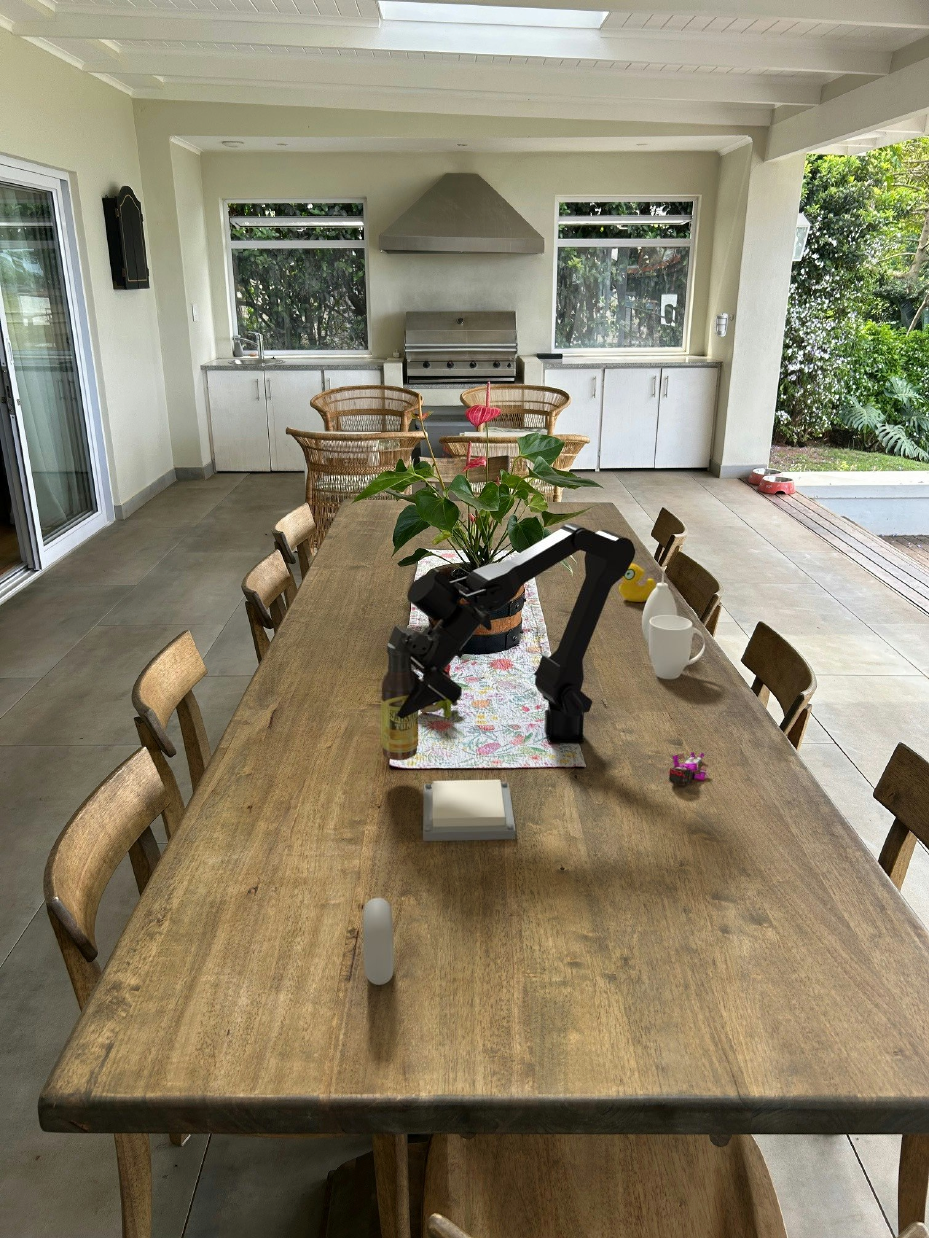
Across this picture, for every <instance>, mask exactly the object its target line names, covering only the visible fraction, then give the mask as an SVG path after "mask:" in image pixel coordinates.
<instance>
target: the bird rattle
mask: <svg viewBox="0 0 929 1238" xmlns="http://www.w3.org/2000/svg"><path fill="white" fill-rule="evenodd" d="M451 666H452V665H451V663H450V664H449V665H448V666H447V668H446V669H445V671H447V672H448V675H447V676H448V677H449V678H451V674H450V672H451V671H450V670H451ZM422 678H423V676H422V677H420V678H419V679H420V680H422V681H423V679H422ZM451 679H452V678H451ZM443 697H444V696H443ZM461 697H462V696H461ZM461 697H460V698H459V699H458V700H457V702H456V703H455V704H454V703H452V702H451V701H450V700H448V699H447V698H446V697H444V698H445V699H446V700H445V701H444V702H443V701H439V702H437V703H434V704H432V705H430V706H427V707H425V708H423V709H421V710H419V712H420V713H421V712H422V713H424V714H425V713H435V712H439V711H440V710H442V711H443V716H445V717H448V718H449V717H450V716H452V715H453V714H452V706H453V707H457V706H458V701H461V699H462V698H461ZM422 713H421V714H422ZM445 717H444V718H445Z"/></svg>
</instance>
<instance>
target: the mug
mask: <svg viewBox="0 0 929 1238" xmlns="http://www.w3.org/2000/svg"><path fill="white" fill-rule="evenodd" d="M694 634H697V635H698V636H700V638H702V641H703V646H702V648H701V650H700V651H699V653H698V654H697V655H696V656H695V657H693V658H691V659H690V656H691V652H692V651H691V650H692V642H693V641H692V640H693V636H694ZM705 641H706V640H705V637H704V634H703V633H702V632H701V631H700V630H699V629H698V628H696V627H694V626H693V622H692V621H691V620H690V619H688V618H687V617H686V618H685V617H683V616H679V615H677V616H673V615H661V616H655V617H653V618H651V619H650V621H649V643H648V654H649V659H650V662H651V664H652V668H653V670H654V674H655V676H656V677H658V678H660V679H663V680H675V679H678V678H679V677H680V676H681V675H682V672H683V671H684V669H685V668H686V666H689V665H692V664H694V663H696V662H697V661H698V660H700V658H702V656H703V654H704V652H705V649H706V644H705V643H706V642H705Z"/></svg>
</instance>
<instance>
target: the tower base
mask: <svg viewBox="0 0 929 1238" xmlns="http://www.w3.org/2000/svg"><path fill="white" fill-rule="evenodd" d="M511 798H512V797H511V791H510V784H509V782H507V781H501V779H475V780H474V779H472V780H471V779H469V780H467V779H465V780H459V779H457V780H433V781H432V783H430V782H427V783H425V784H423V813H422V814H423V817H422V820H423V821H422V839H423V842H435V841H436V842H439V841H440V842H443V841H447V842H448V841H449V842H450V841H485V840H486V841H490V840H491V841H492V840H493V841H494V840H516V825H515V818H514V811H513V805H512V804H513V803H512V799H511Z"/></svg>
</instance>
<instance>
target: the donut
mask: <svg viewBox="0 0 929 1238" xmlns="http://www.w3.org/2000/svg"><path fill="white" fill-rule="evenodd" d="M392 915H393V913H392V907H391V905H390V904H389V902H388V901H387V900H386V899H384V898H382V897H374V898H372V899H371V900H368V901H367V903H366V904H365V906H364V909H363V915H362V916H363V917H362V949H363V953H362V954H363V964H364V972H365V976H366V978H367V980H368V981H369V982H370V983H371V984H374V985H378V986H381V985H385V984H386V983H388V982H389V981H390V980H391V979H392V977H393V975H394V967H395V965H394V963H395V961H394V960H395V955H394V952H395V951H394V931H393V928H394V927H393V916H392Z"/></svg>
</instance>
